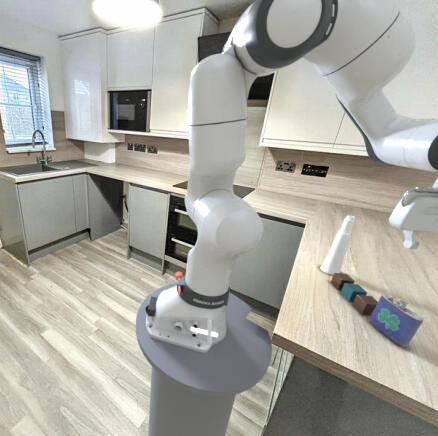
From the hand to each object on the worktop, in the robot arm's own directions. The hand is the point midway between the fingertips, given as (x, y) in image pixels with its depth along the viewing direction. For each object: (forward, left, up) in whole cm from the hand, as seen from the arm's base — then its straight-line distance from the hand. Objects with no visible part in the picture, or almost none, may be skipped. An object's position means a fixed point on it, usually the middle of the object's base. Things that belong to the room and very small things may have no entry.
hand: (432, 249), depth 52 cm
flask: (0, 0, -25) cm, 25 cm away
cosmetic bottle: (+2, +28, -25) cm, 38 cm away
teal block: (0, +13, -25) cm, 28 cm away
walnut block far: (0, +19, -25) cm, 31 cm away
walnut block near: (0, +8, -25) cm, 26 cm away
